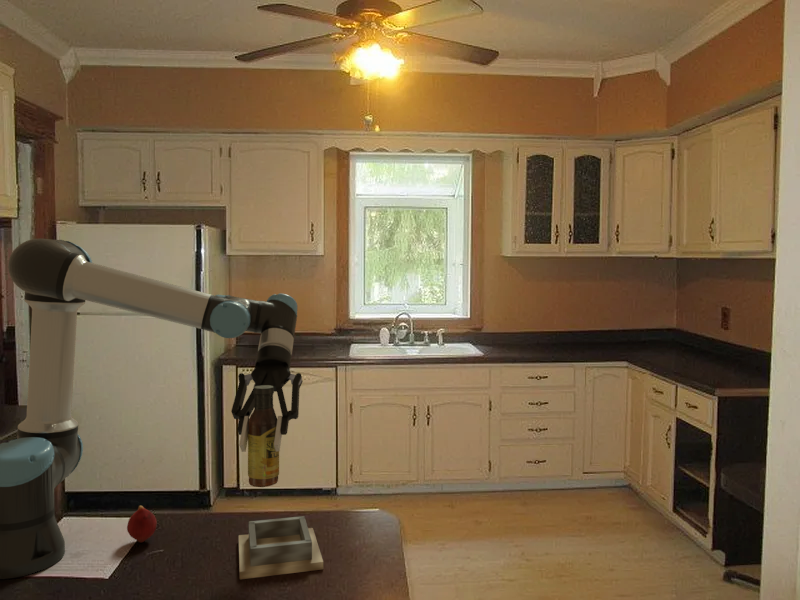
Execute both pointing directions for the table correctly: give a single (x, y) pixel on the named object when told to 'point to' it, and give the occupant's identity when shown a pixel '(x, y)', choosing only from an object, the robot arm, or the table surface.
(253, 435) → the sauce bottle
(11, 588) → the table surface
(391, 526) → the table surface
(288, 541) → the bottle holder
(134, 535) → the onion
